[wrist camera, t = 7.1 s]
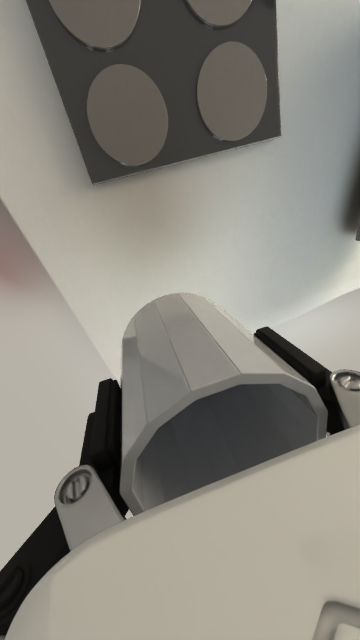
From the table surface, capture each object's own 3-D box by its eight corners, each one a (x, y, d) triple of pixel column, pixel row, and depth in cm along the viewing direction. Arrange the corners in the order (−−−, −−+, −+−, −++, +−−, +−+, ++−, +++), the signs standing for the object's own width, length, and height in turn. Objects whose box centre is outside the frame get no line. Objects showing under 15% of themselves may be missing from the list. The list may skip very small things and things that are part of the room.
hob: (93, 185, 22) (92, 183, 21) (-2, -79, 15) (-12, -104, 14) (275, 138, 24) (283, 134, 23) (263, -113, 18) (273, -136, 16)
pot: (141, 404, 16) (157, 555, 9) (103, 313, 13) (79, 430, 6) (236, 371, 17) (322, 483, 9) (222, 278, 14) (334, 339, 6)
